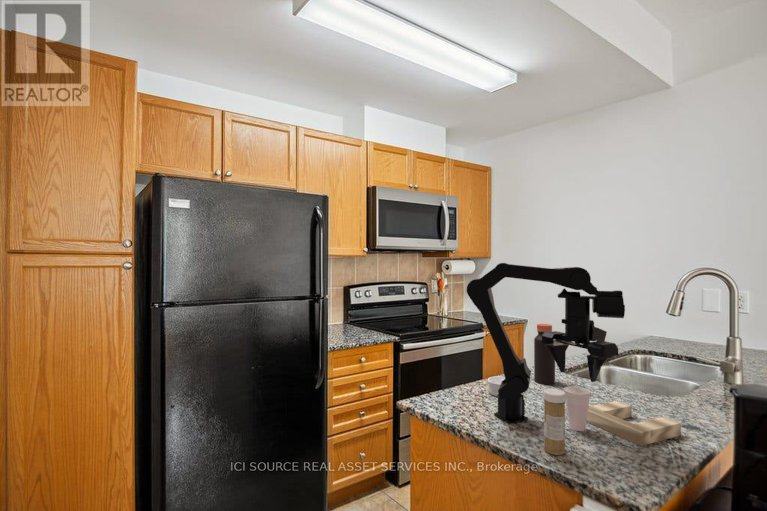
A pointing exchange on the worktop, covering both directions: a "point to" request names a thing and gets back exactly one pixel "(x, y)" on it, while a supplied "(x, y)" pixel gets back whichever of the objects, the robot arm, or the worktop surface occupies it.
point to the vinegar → (543, 358)
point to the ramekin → (495, 385)
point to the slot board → (631, 424)
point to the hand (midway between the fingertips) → (577, 376)
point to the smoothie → (577, 406)
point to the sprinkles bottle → (554, 421)
